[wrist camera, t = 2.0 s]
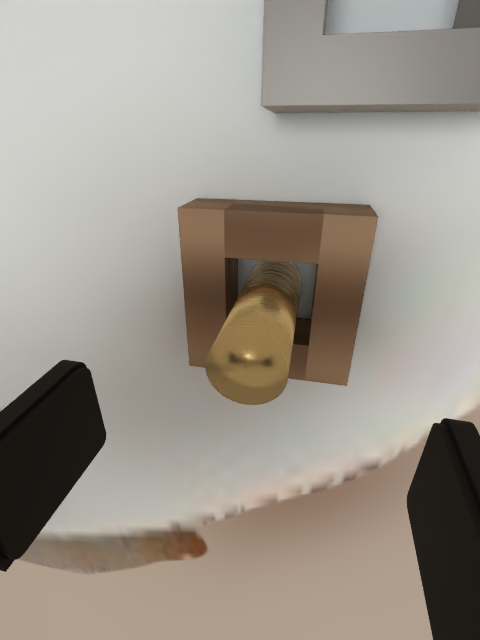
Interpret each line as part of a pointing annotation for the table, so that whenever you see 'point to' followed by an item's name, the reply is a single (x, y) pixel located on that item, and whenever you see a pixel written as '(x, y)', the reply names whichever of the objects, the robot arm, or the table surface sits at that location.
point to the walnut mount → (279, 245)
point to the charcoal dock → (367, 64)
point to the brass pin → (257, 336)
